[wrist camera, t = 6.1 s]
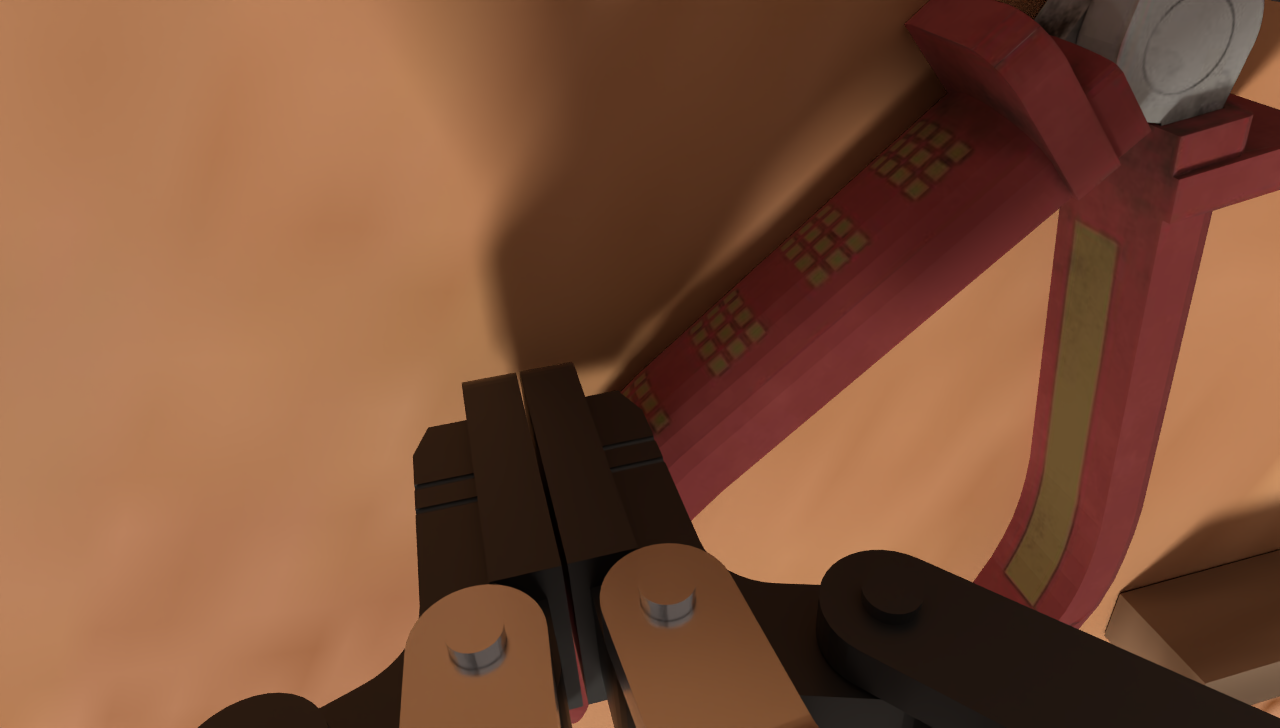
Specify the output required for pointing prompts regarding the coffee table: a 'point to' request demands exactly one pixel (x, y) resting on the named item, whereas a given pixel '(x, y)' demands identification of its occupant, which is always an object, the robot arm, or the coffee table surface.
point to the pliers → (981, 234)
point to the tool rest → (1210, 627)
